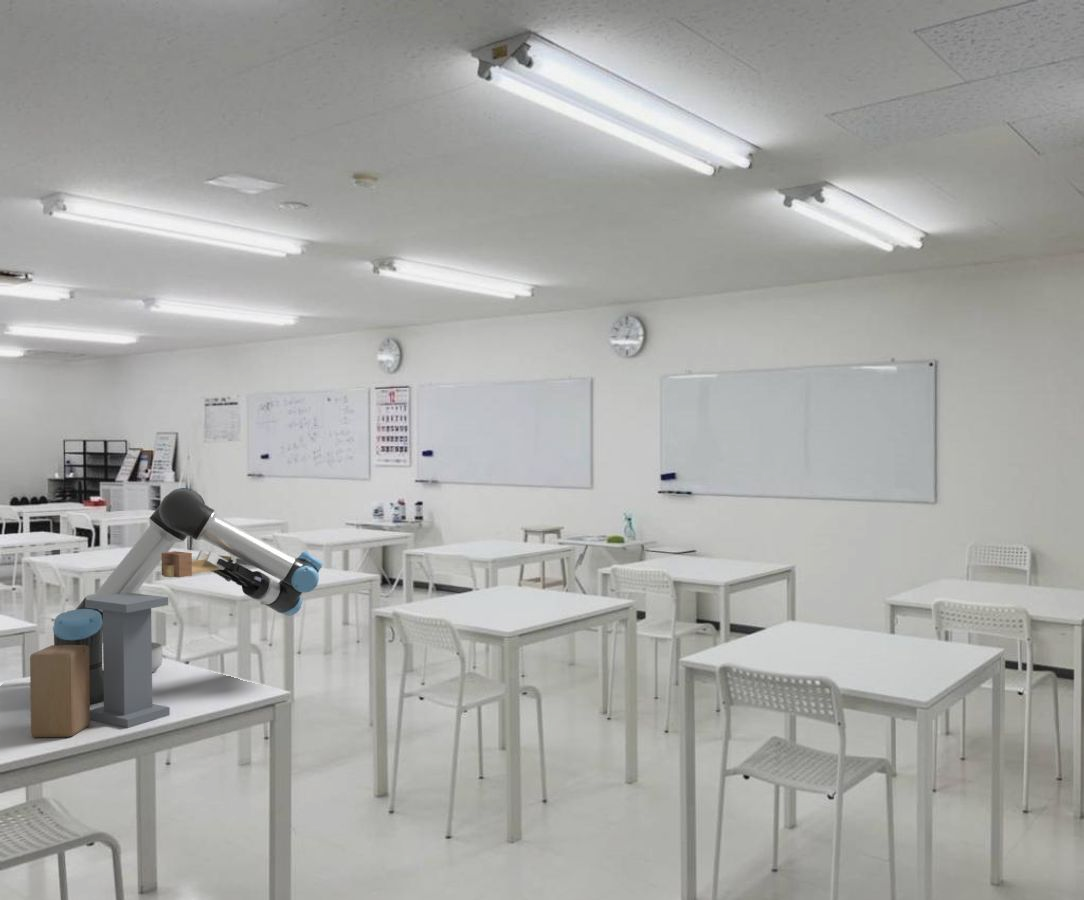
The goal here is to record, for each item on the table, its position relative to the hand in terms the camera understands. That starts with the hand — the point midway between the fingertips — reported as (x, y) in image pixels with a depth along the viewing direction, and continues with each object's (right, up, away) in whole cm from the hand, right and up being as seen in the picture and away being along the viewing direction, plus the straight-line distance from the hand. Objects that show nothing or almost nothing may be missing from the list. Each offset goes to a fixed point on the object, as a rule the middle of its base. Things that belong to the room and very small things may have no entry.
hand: (203, 555), depth 253 cm
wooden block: (-23, -39, -31) cm, 55 cm away
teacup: (-29, -38, +27) cm, 55 cm away
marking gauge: (-1, -4, -1) cm, 5 cm away
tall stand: (-12, -38, -20) cm, 45 cm away
